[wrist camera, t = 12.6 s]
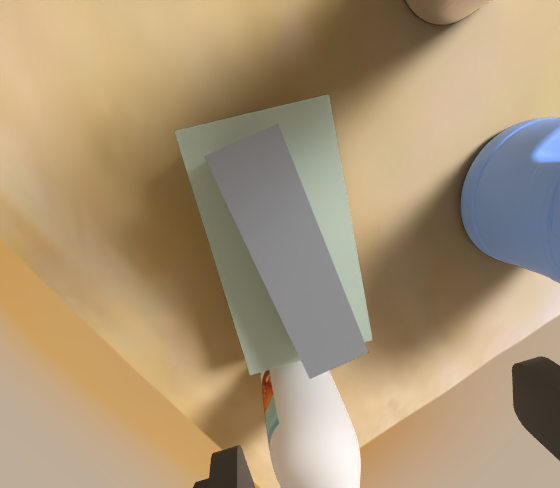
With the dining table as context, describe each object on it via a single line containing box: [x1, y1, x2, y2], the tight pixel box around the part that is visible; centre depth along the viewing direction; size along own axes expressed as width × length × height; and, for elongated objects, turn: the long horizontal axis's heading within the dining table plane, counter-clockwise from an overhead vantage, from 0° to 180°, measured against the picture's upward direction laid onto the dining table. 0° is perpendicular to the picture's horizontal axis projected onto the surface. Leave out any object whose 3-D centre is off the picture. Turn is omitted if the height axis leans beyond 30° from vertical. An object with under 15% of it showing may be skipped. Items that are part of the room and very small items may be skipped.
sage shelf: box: [174, 94, 373, 375], centre depth 30 cm, size 12×22×7 cm, turn 13°
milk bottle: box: [261, 361, 361, 488], centre depth 29 cm, size 8×8×20 cm
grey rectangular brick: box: [204, 124, 369, 379], centre depth 25 cm, size 5×18×5 cm, turn 23°
